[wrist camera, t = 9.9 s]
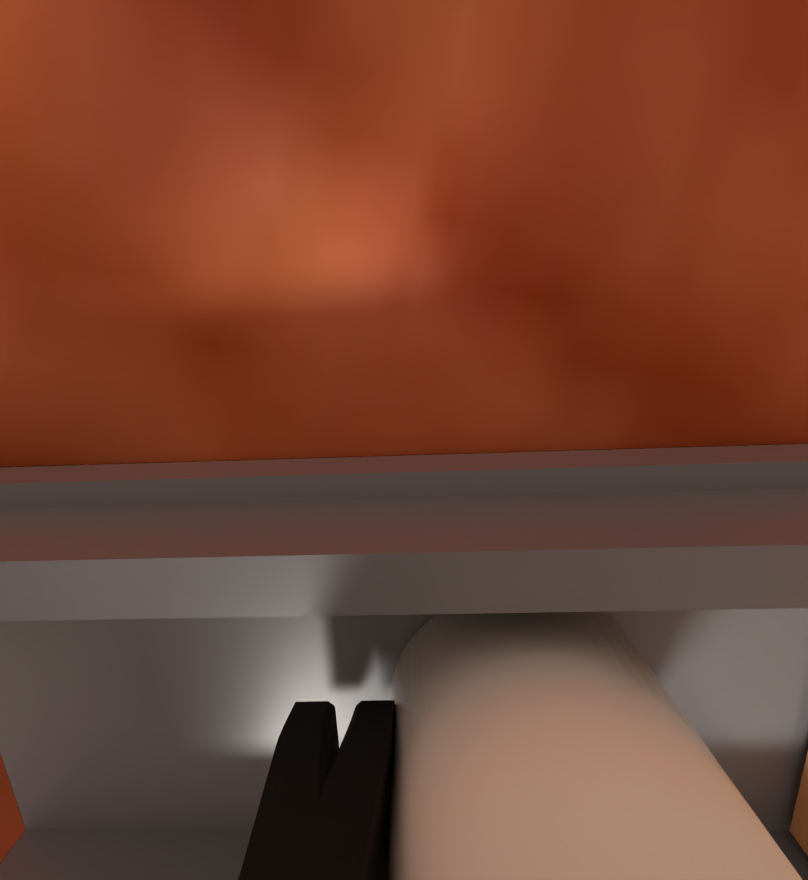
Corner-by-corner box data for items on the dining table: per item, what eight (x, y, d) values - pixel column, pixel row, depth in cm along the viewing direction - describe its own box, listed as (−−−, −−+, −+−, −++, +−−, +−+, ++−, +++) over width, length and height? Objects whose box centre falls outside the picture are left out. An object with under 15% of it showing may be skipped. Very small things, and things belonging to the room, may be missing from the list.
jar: (399, 808, 10) (408, 1486, 4) (370, 595, 9) (326, 1155, 3) (641, 783, 10) (980, 1431, 4) (648, 566, 9) (1152, 1073, 3)
